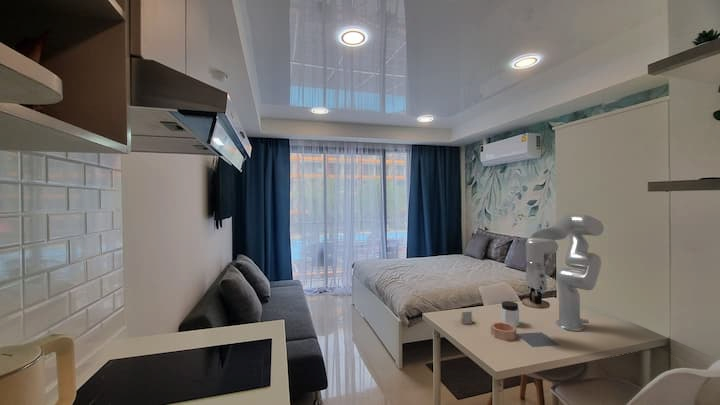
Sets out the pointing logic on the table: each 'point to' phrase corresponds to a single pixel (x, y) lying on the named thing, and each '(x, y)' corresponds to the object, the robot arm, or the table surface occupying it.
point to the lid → (532, 303)
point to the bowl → (503, 331)
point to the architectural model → (466, 317)
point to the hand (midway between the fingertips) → (535, 301)
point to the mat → (537, 339)
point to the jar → (510, 313)
